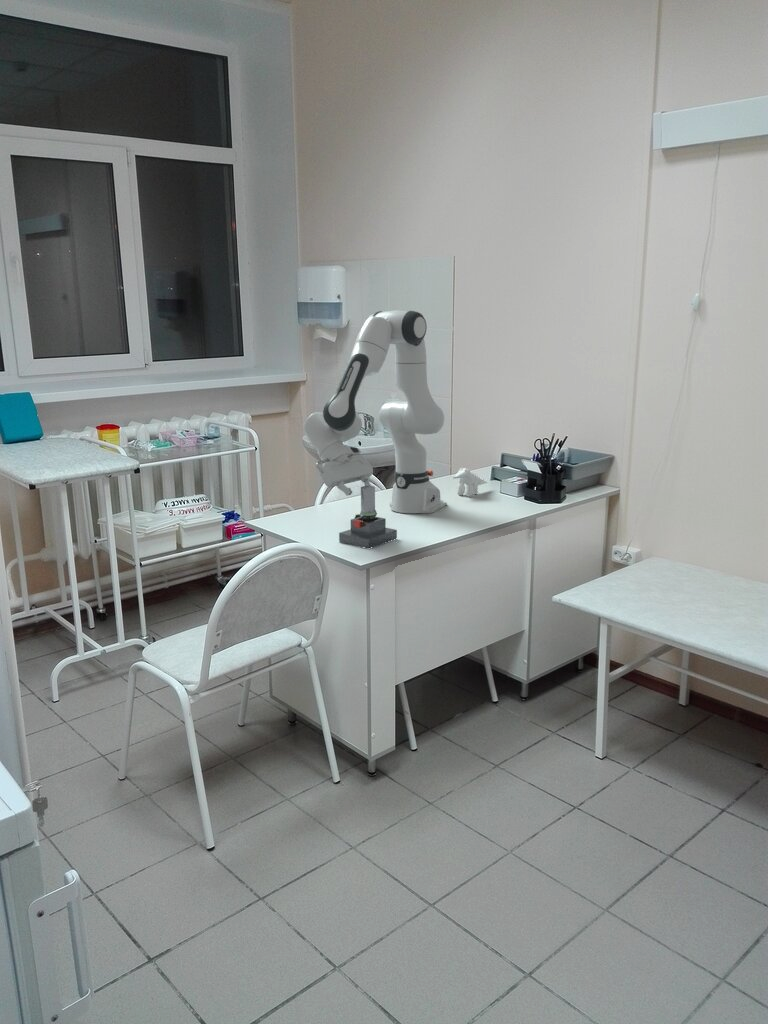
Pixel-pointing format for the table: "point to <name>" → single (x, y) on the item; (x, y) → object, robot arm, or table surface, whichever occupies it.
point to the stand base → (367, 533)
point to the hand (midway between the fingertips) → (359, 491)
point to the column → (368, 503)
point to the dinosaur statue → (468, 482)
